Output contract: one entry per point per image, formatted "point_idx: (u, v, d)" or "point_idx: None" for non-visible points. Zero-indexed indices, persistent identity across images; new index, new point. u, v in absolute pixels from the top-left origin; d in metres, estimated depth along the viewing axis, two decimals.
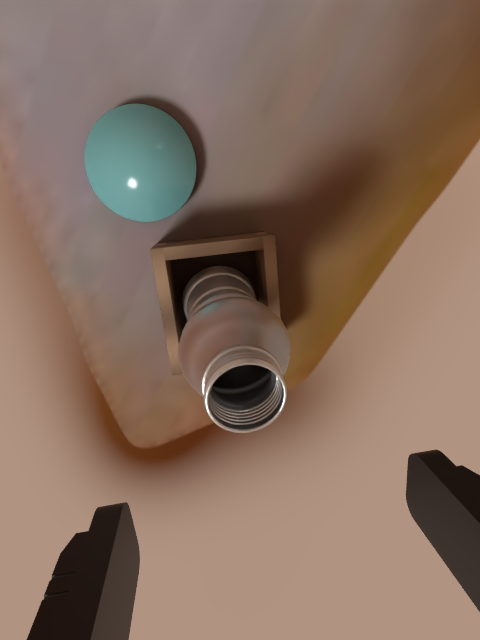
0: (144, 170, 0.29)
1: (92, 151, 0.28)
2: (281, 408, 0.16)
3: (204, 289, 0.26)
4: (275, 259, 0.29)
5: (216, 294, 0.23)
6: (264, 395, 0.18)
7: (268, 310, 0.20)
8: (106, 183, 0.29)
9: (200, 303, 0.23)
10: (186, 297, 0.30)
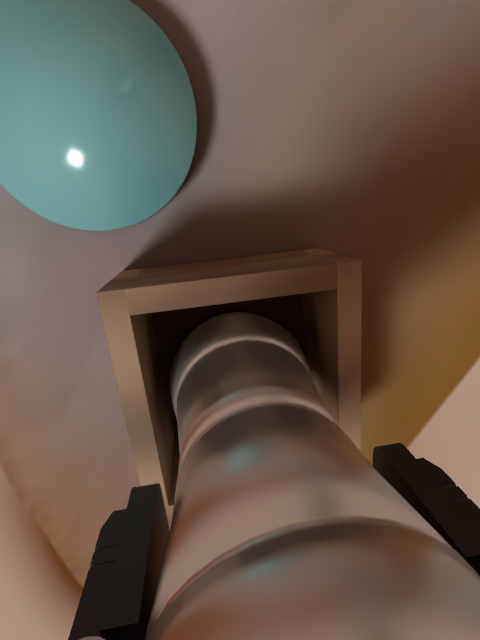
0: (91, 127, 0.14)
1: None
2: None
3: (215, 388, 0.12)
4: (359, 309, 0.14)
5: (252, 440, 0.08)
6: None
7: None
8: (13, 153, 0.14)
9: (207, 465, 0.08)
10: (176, 383, 0.15)
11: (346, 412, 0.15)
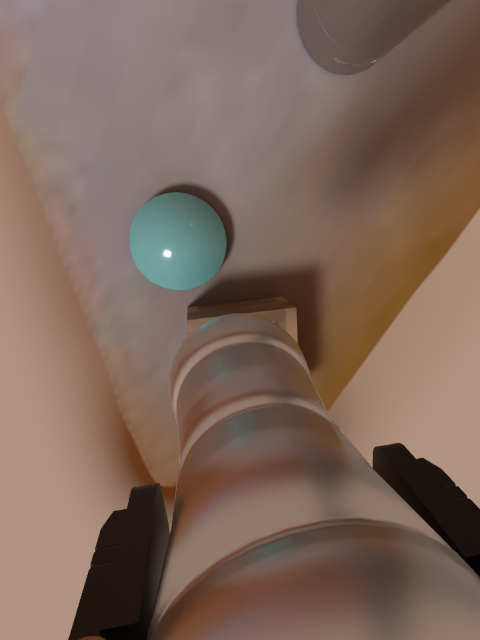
0: (181, 247, 0.33)
1: (136, 232, 0.32)
2: None
3: (214, 389, 0.12)
4: (296, 327, 0.33)
5: (252, 442, 0.08)
6: None
7: None
8: (147, 258, 0.33)
9: (208, 467, 0.08)
10: (176, 385, 0.15)
11: None
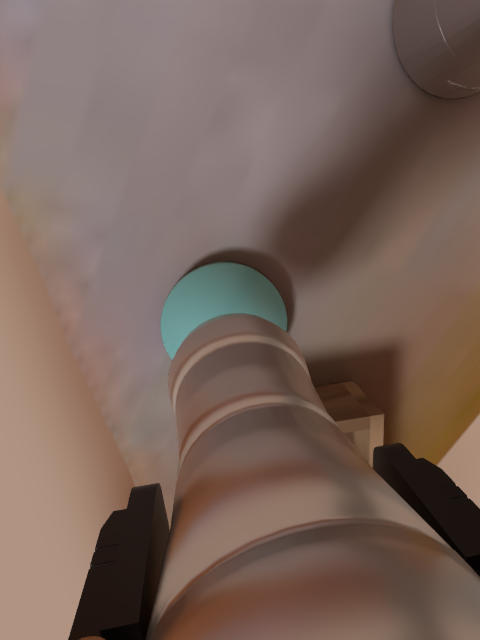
0: None
1: (170, 316, 0.24)
2: None
3: (214, 389, 0.12)
4: (382, 438, 0.25)
5: (252, 442, 0.08)
6: None
7: None
8: None
9: (207, 467, 0.08)
10: (175, 385, 0.15)
11: None
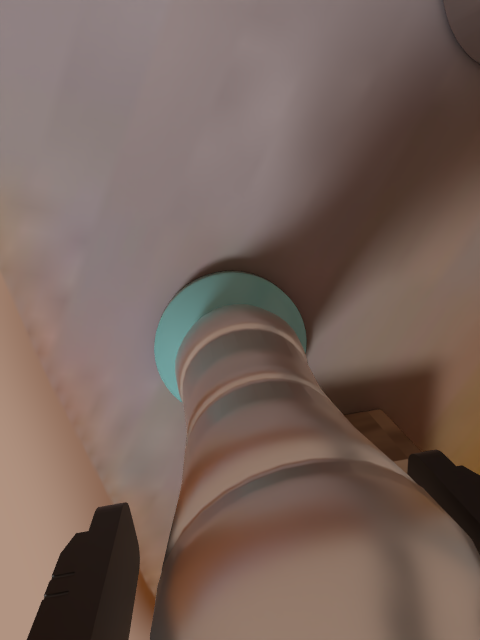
0: None
1: (166, 337, 0.20)
2: None
3: (218, 369, 0.13)
4: None
5: (252, 408, 0.10)
6: None
7: (446, 528, 0.06)
8: None
9: (213, 430, 0.10)
10: (182, 369, 0.16)
11: None
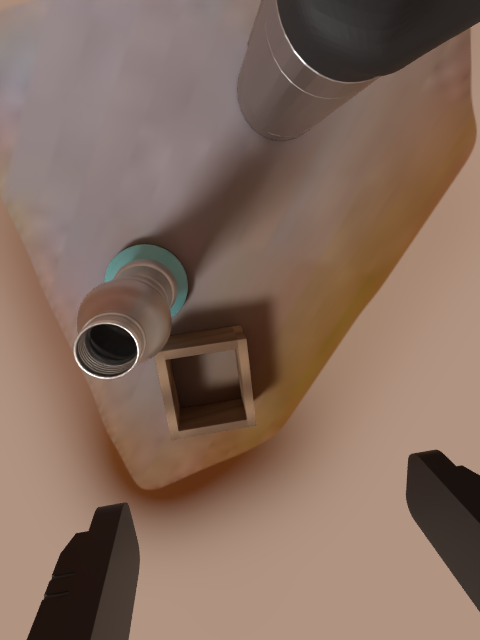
0: None
1: (110, 278, 0.38)
2: (136, 359, 0.20)
3: (119, 277, 0.31)
4: (247, 355, 0.39)
5: None
6: (134, 353, 0.22)
7: (148, 288, 0.24)
8: None
9: None
10: None
11: (246, 393, 0.40)
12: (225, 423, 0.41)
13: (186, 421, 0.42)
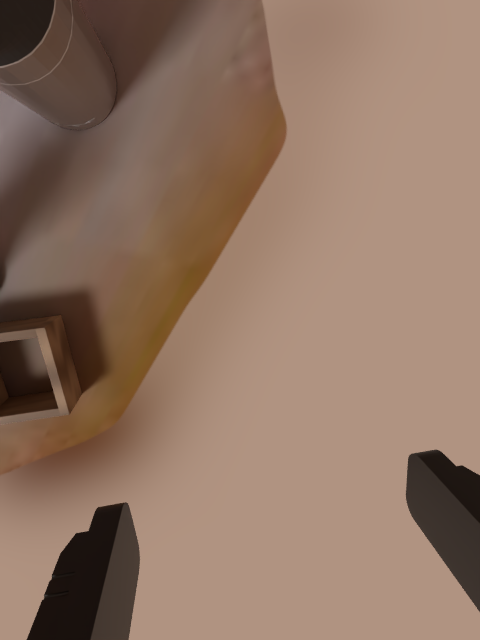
0: None
1: None
2: None
3: None
4: (48, 344, 0.39)
5: None
6: None
7: None
8: None
9: None
10: None
11: (54, 382, 0.40)
12: (36, 411, 0.41)
13: (3, 409, 0.43)
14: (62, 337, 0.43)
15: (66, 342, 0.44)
